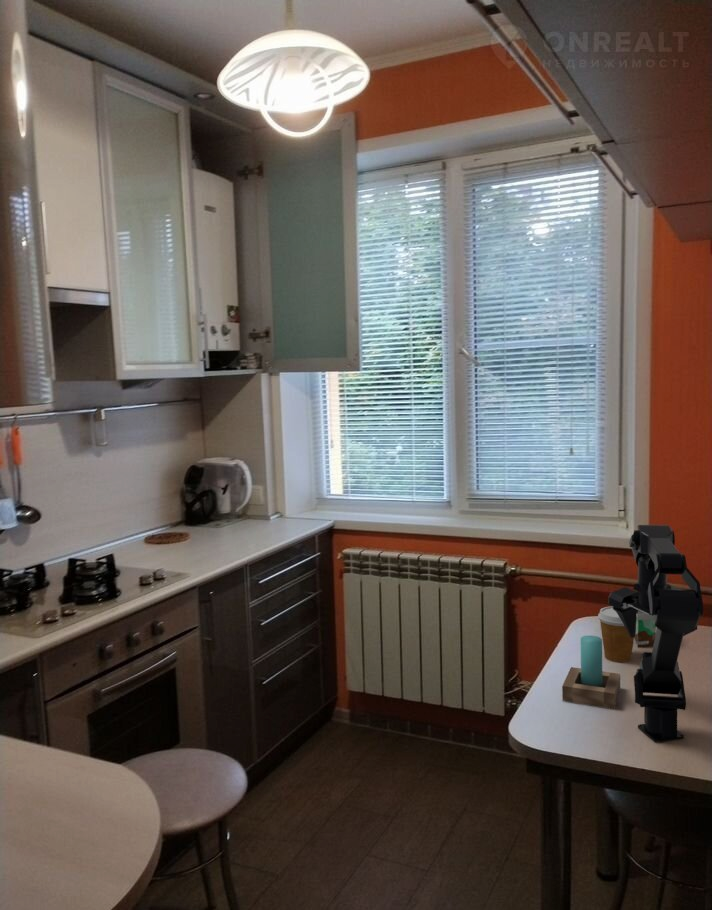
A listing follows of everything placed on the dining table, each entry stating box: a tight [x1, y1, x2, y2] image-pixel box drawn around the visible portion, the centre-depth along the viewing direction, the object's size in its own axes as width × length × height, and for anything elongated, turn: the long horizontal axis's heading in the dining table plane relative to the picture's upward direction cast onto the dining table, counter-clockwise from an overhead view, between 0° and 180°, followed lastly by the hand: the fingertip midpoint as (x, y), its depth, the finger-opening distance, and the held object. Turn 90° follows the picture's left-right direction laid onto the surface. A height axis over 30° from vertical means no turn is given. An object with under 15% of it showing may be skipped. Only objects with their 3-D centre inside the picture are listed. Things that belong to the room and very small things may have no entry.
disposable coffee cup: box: [597, 605, 638, 663], centre depth 184 cm, size 10×10×12 cm
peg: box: [580, 635, 603, 687], centre depth 164 cm, size 5×5×13 cm
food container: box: [633, 610, 657, 648], centre depth 195 cm, size 12×6×10 cm, turn 168°
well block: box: [561, 666, 621, 710], centre depth 165 cm, size 11×11×4 cm
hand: (649, 645), depth 159 cm, fingers open, 9 cm apart
